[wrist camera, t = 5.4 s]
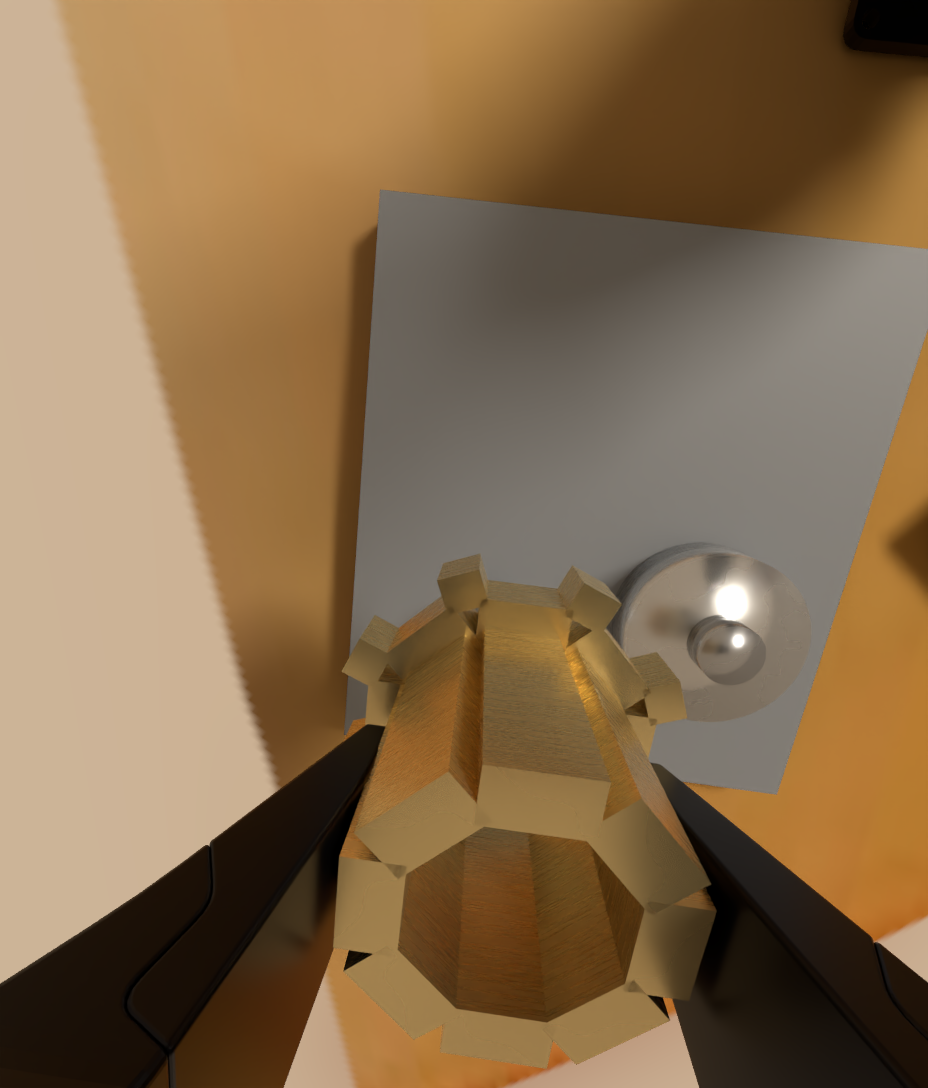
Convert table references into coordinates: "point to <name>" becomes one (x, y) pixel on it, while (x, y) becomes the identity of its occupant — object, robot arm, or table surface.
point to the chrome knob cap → (715, 627)
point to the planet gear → (518, 826)
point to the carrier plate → (627, 416)
